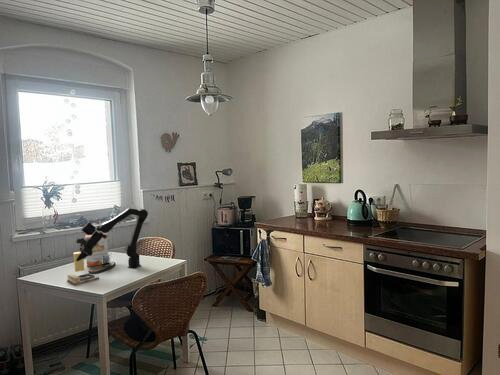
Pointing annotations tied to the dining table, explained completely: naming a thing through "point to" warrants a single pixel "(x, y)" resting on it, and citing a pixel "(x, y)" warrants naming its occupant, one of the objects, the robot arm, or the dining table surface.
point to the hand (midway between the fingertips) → (76, 260)
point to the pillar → (78, 262)
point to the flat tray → (81, 278)
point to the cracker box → (97, 252)
